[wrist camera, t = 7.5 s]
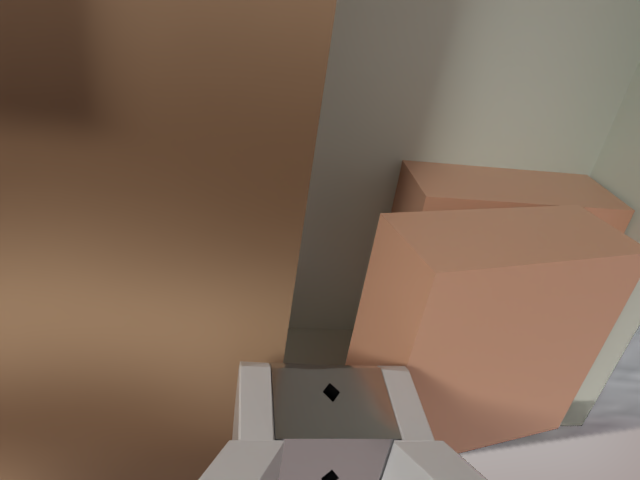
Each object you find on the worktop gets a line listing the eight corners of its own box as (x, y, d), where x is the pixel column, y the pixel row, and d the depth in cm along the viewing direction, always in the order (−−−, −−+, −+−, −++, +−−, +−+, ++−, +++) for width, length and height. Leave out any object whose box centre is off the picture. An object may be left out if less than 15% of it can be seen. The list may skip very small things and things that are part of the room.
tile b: (380, 212, 10) (435, 273, 8) (578, 204, 12) (654, 252, 10) (336, 401, 12) (373, 474, 11) (505, 369, 14) (557, 428, 13)
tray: (351, -452, 8) (402, -638, 5) (827, -310, 10) (1050, -398, 7) (259, 339, 16) (262, 424, 13) (530, 348, 18) (581, 425, 15)
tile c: (634, 210, 12) (587, 174, 14) (426, 196, 11) (402, 160, 13) (557, 371, 15) (525, 324, 16) (381, 370, 14) (367, 320, 15)
